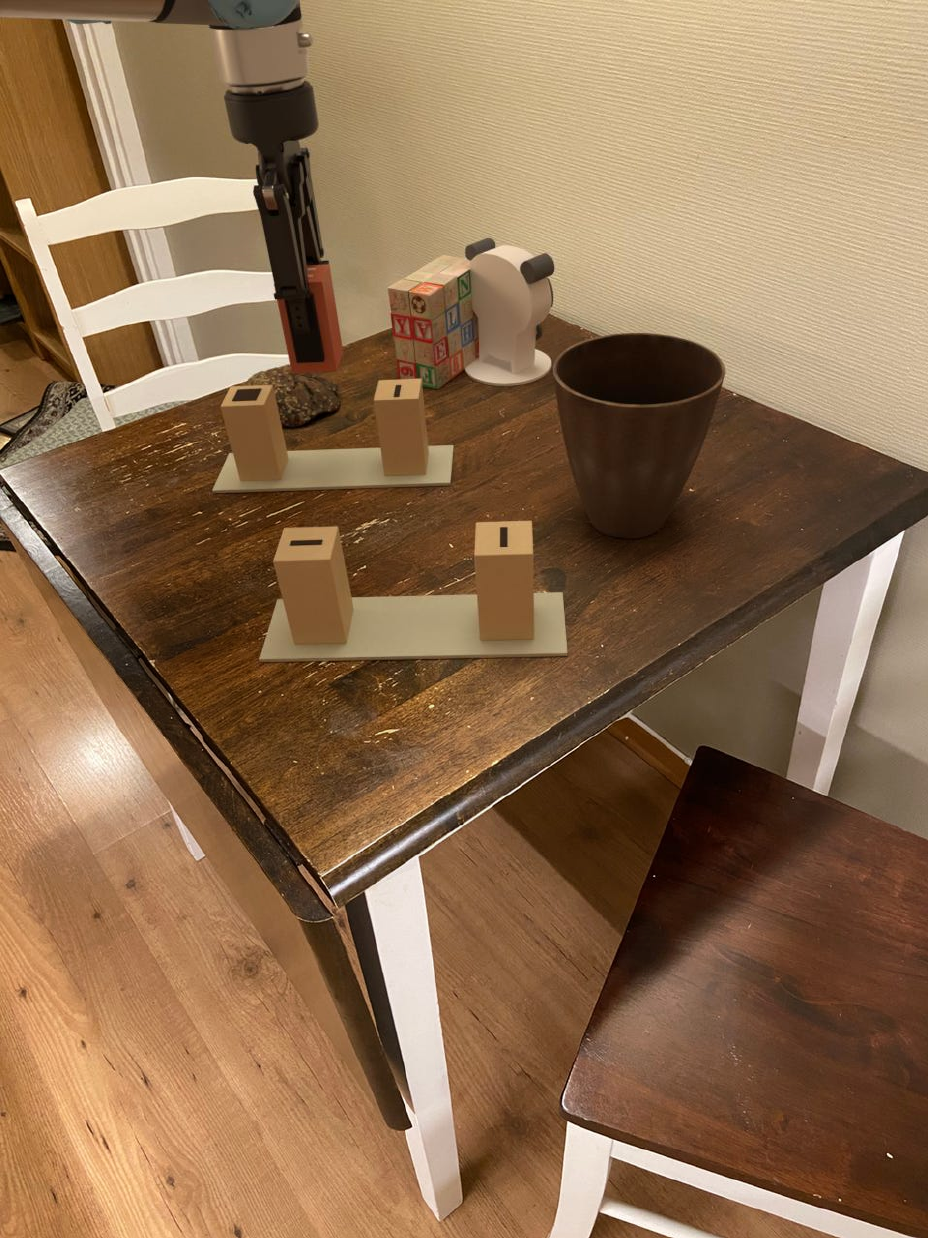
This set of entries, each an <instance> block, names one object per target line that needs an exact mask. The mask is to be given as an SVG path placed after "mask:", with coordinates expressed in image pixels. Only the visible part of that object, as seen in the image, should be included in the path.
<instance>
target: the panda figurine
mask: <svg viewBox="0 0 928 1238" xmlns="http://www.w3.org/2000/svg"><path fill="white" fill-rule="evenodd" d="M464 255H465V258H467V259H468V260H469V261H471V262H470V265H469V269H470V280H471V294H472V308H473V311H474V312H475V314H476V315H477V317H478V329H479V357H478V358H477V359H476V360H475V361H474V362H472V363H471V364H470V365H468V366H467V367H466V368H465V370H464V373H465V374H466V376H468V378H470V379H471V380H473V381H475V382H477V383H480V384H483V385H487V386H488V385H489V386H495V387H515V386H522V385H525V384H526V385H527V384H530V383H533V382H536V381H538V380H540V379H542V378H544V377H545V376H546V375H548V373H549V372H550V371H551V369H552V359H551V358H550V356H549V355H548V354H547V353H545V352H544V351H542V350H539V349H536V342H537V341H538V340H540V339H541V338H542V336H543V334H544V333H543V328H542V326H541V323H543V322H544V321H545V319H546V318H547V317H548V315H549V314H550V311H551V308H552V307H553V305H554V291H553V286H552V283H551V279H550V278H549V277H551V276H553V274H554V273H555V263H554V260H553V258H552V256H550V254H548V253H547V252H544V253H541V254H539V255H536V256H534V255H533V254H532V253H531V252H529V251H527V250H525V249H523V248H520V247H519V246H515V245H508V244H507V245H505V244H503V245H498V246H497V247H496V242H495V240H494V239H493V238H492V237H485V238H483V239H481V240H478V241H475V242H473V243H470V244H467V245H466V246H465V248H464Z"/></svg>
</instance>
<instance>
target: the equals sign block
mask: <svg viewBox="0 0 928 1238" xmlns="http://www.w3.org/2000/svg"><path fill="white" fill-rule="evenodd" d="M307 273H308V281H309V288H310V291H311V293H313V294H314V299H315V305H316V311H317V317H318V322H319V328H320V334H321V339H322V345H323V351H324V357H325V360H324V362H310V363H297V362H296V357H295V352H294V347H293V342H292V337H291V332H290V326H289V321H288V316H287V311H286V306H285V301H284V300H276V302H277V307H278V311H279V316H280V321H281V327H282V331H283V337H284V341H285V345H286V352H287V357H288V361H289V364H290V366H291V371H292V374H296V373H315V374H318V373H337V372H338V369H339V368H340V367H339V366H340V364H341V361H342V357H343V356H344V355H343V354H344V347H343V342H342V334H341V328H340V321H339V316H338V310H337V303H336V298H335V292H334V284H333V279H332V273H331V265H330V263H329V264H328V265H308V266H307ZM273 286H274V288H275V285H274V284H273ZM274 293H276V290H275V289H274Z"/></svg>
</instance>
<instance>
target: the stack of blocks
mask: <svg viewBox="0 0 928 1238" xmlns="http://www.w3.org/2000/svg"><path fill="white" fill-rule="evenodd" d="M470 262H471V261H469V260H468V259H467V258H466V257H459V256H453V255H446V254H441V255H440V256H438V257H437V258H435V259H433V260H432V261H430V262H428V263H427V264H425V265H424V266H422V267H420V268H419V269H418V270H416V271H414V272H412V273H410V274H409V275H407V276H405V277H404V278H402V279H400V280H398V281H397V282H395V283H393V284H391V285H390V286H388V287H387V293H388V301H389V307H390V322H391V329H392V336H393V342H394V343H393V344H394V348H395V350H394V351H395V357H396V368H397V376H398V380H399V379H422V387H426V388H429V389H434V390H439V389H440V388H441V387H443V386H444V385H446V384H447V383H449V381H451V380H453V379H454V378H456V377H457V376H458V375H460V374H461V373H462V372H464V371H465V368H466V367H467V366H468V365H470V364H471V363H472V362H474V361H475V360H476V359H477V358H478V357H479V329H478V317H477V315H476V314H475V312H474V311H473V308H472V294H471V280H470V269H469V265H470Z"/></svg>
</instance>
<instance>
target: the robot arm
mask: <svg viewBox="0 0 928 1238" xmlns="http://www.w3.org/2000/svg"><path fill="white" fill-rule="evenodd" d="M301 9H302V8H301V1H300V0H0V18H10V19H11V18H12V19H41V20H42V19H43V20H44V19H46V20H48V19H49V20H66V21H68V22H70V23H72V24H75V25H88V24H99V23H103V24H105V25H111V24H112V22H135V23H138V22H139V23H155V24H165V25H166V24H167V25H194V26H196V25H197V26H208V29H209V33H210V34H209V35H210V39H211V44H212V49H213V52H214V53H213V54H214V59H215V64H216V68H217V74H218V78H219V82H220V83H221V84H222V85H224V86H227V87H228V89H226V90H225V94H224V95H223V100H224V104H225V109H226V113H227V119H228V123H229V128H230V129H229V130H230V133H231V136H232V138H233V139H234V140H235V141H237V142H239V143H241V144H244V145H248V144H250V145H253V147H256V150H257V151H258V153H257V157H258V164H255V176H256V182H257V184H256V185H253V189H252V193H253V197H254V200H255V203H256V206H257V210H258V212H259V216H260V221H261V226H262V232H263V237H264V240H265V246H266V251H267V255H268V260H269V265H270V270H271V275H272V281H273V286H274V285H275V287H274V291H275V290H276V292H274V293H273V298H274V301H275V300H276V301H277V300H284V301H285V306H286V311H287V316H288V321H289V326H290V332H291V337H292V342H293V347H294V352H295V357H296V362H297V363H310V362H324V360H325V357H324V351H323V345H322V339H321V334H320V328H319V322H318V317H317V311H316V305H315V299H314V294H313V293H311V291H310V288H309V281H308V273H307V266H308V265H328V264H329V265H330V260H322V259H323V258H324V256H325V250H324V249H325V248H324V246H323V241H322V234H321V229H320V221H319V215H318V210H317V203H316V197H315V191H314V185H313V179H312V178H313V177H312V169H311V160H310V158H311V152H310V151H309V148H308V147H301V145H300V140H304V139H307V138H309V137H311V136H313V135H315V133H316V132H317V131H318V129H319V118H318V111H317V105H316V97H315V90H314V86H313V85H311V83H310V82H309V81H308V80H305V78H306V77H308V75H309V74H310V72H311V70H310V61H309V55H308V50H307V48H310V47H312V46H313V44H314V38H313V37H312V35H311V33H310V32H303V31H304V30H303V28H304V23H303V20H302V17H303V15H302V11H301Z"/></svg>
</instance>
